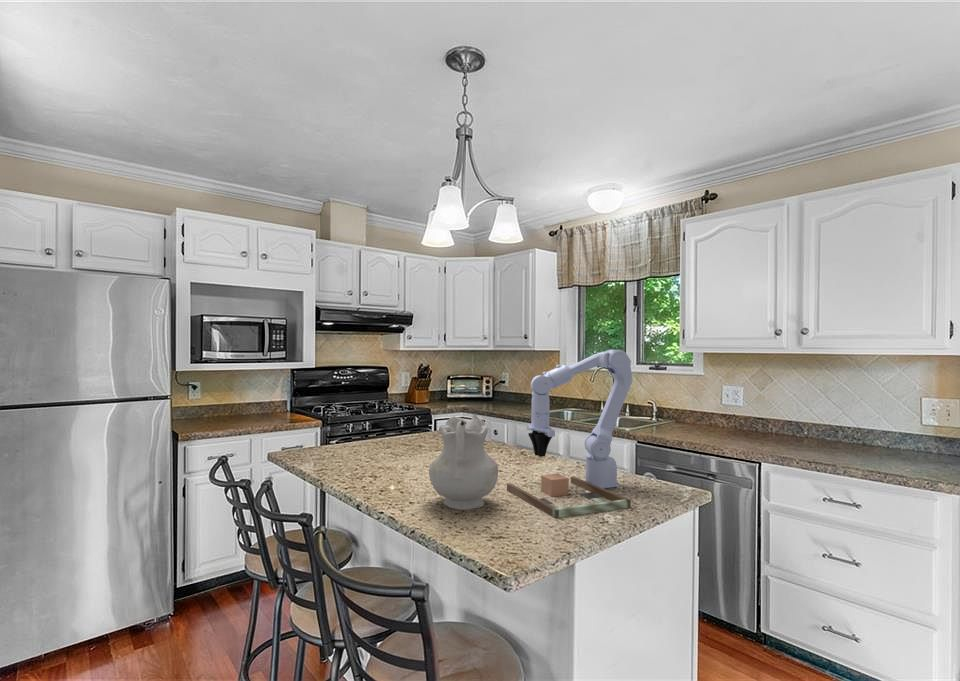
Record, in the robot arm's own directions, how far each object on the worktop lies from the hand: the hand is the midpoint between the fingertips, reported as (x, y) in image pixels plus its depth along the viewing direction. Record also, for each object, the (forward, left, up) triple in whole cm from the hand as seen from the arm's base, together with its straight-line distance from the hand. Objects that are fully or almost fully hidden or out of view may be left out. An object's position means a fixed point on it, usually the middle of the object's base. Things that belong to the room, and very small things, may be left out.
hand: (540, 455), depth 166 cm
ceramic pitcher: (+30, +10, -10) cm, 33 cm away
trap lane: (0, +15, -9) cm, 18 cm away
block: (0, +9, -10) cm, 13 cm away
